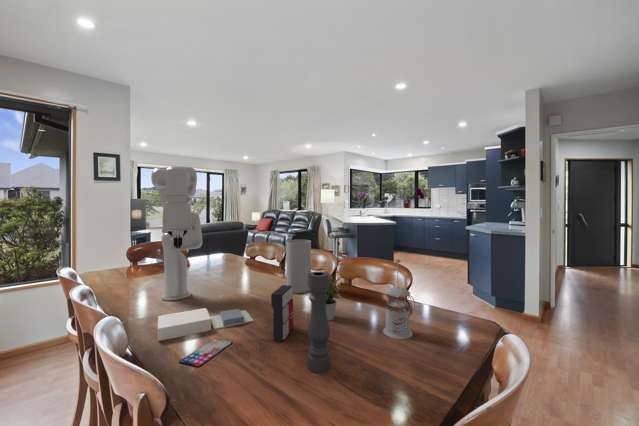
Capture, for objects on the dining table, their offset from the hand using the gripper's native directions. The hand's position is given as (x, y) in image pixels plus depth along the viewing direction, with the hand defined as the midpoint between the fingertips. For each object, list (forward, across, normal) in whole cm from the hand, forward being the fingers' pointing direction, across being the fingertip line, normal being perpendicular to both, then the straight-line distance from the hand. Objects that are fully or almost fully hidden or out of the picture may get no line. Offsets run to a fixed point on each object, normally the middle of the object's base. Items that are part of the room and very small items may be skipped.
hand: (178, 247), depth 110 cm
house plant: (+27, -51, +30) cm, 65 cm away
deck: (+27, -1, +13) cm, 30 cm away
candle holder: (+27, -31, +57) cm, 70 cm away
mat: (+27, -17, +13) cm, 34 cm away
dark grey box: (+27, -30, +34) cm, 53 cm away
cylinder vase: (+27, -55, -8) cm, 62 cm away
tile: (+25, -17, +14) cm, 33 cm away
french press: (+27, -65, +52) cm, 88 cm away
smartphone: (+28, -6, +34) cm, 44 cm away
